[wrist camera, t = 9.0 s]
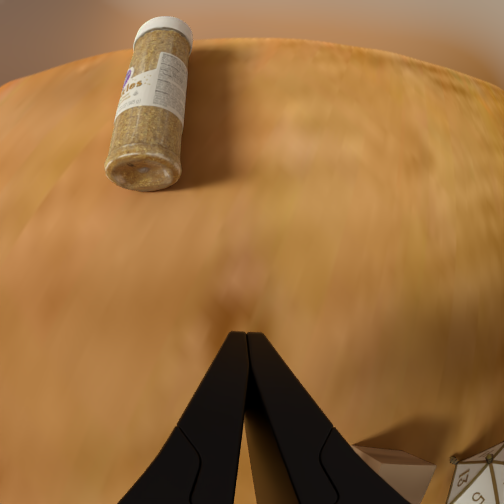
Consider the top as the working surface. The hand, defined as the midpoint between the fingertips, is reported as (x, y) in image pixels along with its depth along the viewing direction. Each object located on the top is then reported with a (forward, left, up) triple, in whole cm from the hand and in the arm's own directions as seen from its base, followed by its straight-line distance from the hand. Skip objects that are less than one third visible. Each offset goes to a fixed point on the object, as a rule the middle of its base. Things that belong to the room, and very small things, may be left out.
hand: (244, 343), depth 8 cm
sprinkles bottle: (+4, +9, -7) cm, 12 cm away
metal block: (-3, -12, -10) cm, 16 cm away
